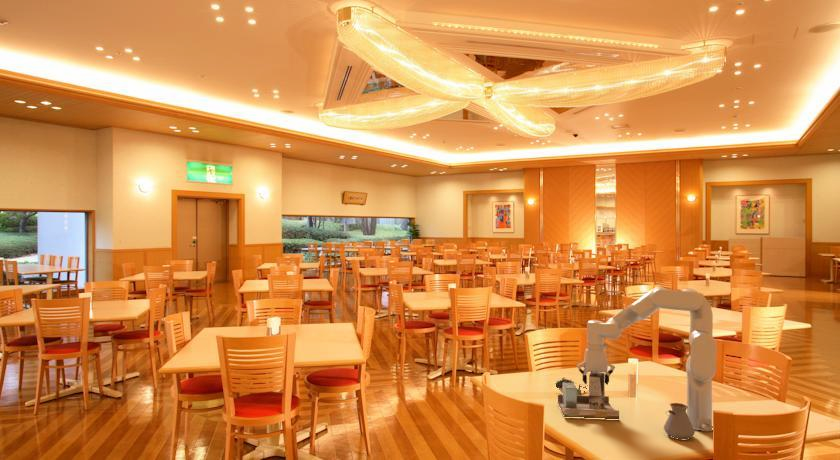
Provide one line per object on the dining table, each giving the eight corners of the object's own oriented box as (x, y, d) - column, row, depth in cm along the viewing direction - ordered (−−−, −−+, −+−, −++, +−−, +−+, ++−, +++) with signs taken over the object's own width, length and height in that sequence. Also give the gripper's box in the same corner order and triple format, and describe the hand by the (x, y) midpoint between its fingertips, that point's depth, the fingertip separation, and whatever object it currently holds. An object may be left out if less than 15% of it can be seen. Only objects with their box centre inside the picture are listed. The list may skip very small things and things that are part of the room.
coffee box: (603, 412, 227) (603, 377, 227) (588, 410, 230) (588, 376, 230) (605, 406, 235) (604, 372, 235) (590, 404, 238) (590, 370, 238)
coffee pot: (667, 428, 214) (667, 393, 214) (697, 435, 206) (697, 399, 206) (653, 445, 198) (652, 407, 198) (684, 453, 190) (684, 414, 190)
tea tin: (577, 410, 230) (576, 388, 230) (565, 410, 230) (565, 387, 230) (573, 404, 238) (573, 382, 238) (562, 404, 239) (562, 382, 239)
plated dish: (587, 407, 242) (587, 392, 242) (533, 396, 258) (532, 382, 259) (606, 388, 271) (606, 375, 271) (556, 380, 287) (556, 368, 287)
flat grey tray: (619, 420, 222) (619, 409, 222) (564, 419, 225) (564, 408, 225) (608, 406, 241) (608, 396, 241) (557, 404, 243) (557, 394, 243)
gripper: (612, 345, 235) (612, 381, 235) (575, 344, 237) (575, 380, 237) (617, 349, 228) (617, 386, 228) (578, 348, 230) (578, 385, 230)
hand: (595, 383), depth 232 cm, fingers open, 9 cm apart
